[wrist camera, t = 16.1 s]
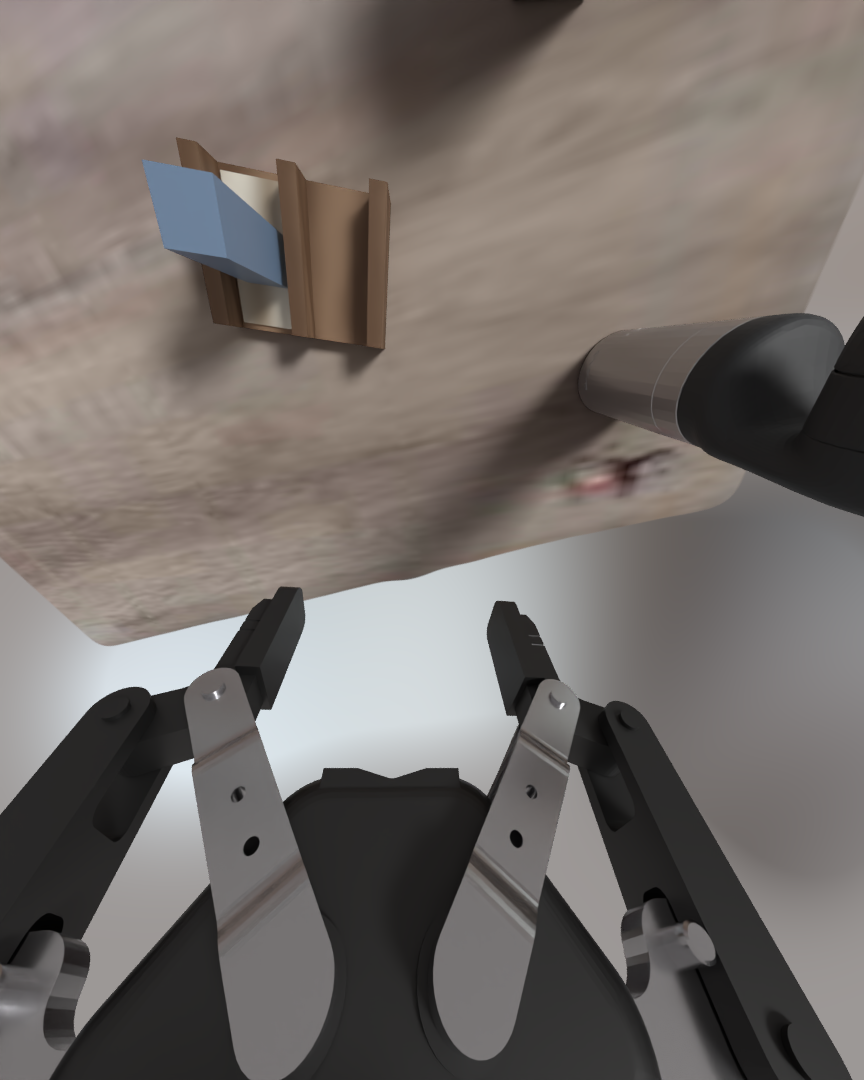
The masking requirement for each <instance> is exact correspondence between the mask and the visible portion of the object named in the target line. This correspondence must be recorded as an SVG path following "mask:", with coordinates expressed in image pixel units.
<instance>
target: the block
mask: <svg viewBox="0 0 864 1080" xmlns="http://www.w3.org/2000/svg"><path fill="white" fill-rule="evenodd" d="M142 162H143V166H144V170H145V174H146V178H147V182H148V186H149V190H150V193H151V197H152V201H153V205H154V209H155V213H156V217H157V221H158V225H159V229H160V233H161V237H162V241H163V245H164V248H165V249H168V250H170V251H173V252H175V253H177V254H180V255H182V256H185V257H187V258H190V259H192V260H194V261H197V262H199V263H202V264H204V265H207V266H209V267H211V268H214V269H216V270H219V271H221V272H224V273H226V274H228V275H231V276H233V277H236V278H238V279H241V280H243V281H245V282H249V283H255V284H262V285H268V286H275V287H281V288H288V284H287V273H286V262H285V252H284V241H283V235H282V234H281V233H280V232H279V231H278V230H276V229H275V228H274V227H273V226H272V225H271V224H270V223H269V222H267V221H266V220H265V219H264V218H263V217H262V216H261V215H260V214H258V213H257V212H256V211H255V210H254V209H253V208H252V207H250V206H249V205H248V204H247V203H246V202H245V201H244V200H243V199H241V198H240V197H239V196H238V195H237V194H236V193H235V192H233V191H232V190H231V189H230V188H229V187H228V186H227V185H226V184H224V183H223V182H222V181H221V180H220V179H219V178H218V177H216V176H215V175H214V174H213V173H211V172H206V171H201V170H195V169H190V168H185V167H179V166H174V165H169V164H163V163H158V162H153V161H147V160H142Z"/></svg>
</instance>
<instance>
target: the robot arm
mask: <svg viewBox="0 0 864 1080" xmlns="http://www.w3.org/2000/svg"><path fill="white" fill-rule="evenodd" d="M578 389H579V395H580V397H581V400H582V402H583V403H584V404H585V406H586V407H588V408H589V409H590V410H592V411H594V412H597V413H600V414H603V415H606V416H608V417H611V418H614V419H617V420H620V421H623V422H626V423H629V424H632V425H635V426H638V427H641V428H644V429H647V430H649V431H652V432H655V433H658V434H661V435H664V436H667V437H671V438H674V439H677V440H680V441H683V442H686V443H689V444H692V445H695V446H697V447H700V448H702V449H703V450H704V451H705V452H706V453H707V454H709V455H711V456H713V457H715V458H717V459H719V460H722V461H725V462H727V463H730V464H732V465H735V466H737V467H740V468H742V469H744V470H747V471H749V472H752V473H754V474H756V475H758V476H761V477H763V478H765V479H767V480H770V481H772V482H774V483H777V484H779V485H781V486H783V487H785V488H788V489H790V490H792V491H794V492H797V493H799V494H802V495H804V496H807V497H809V498H812V499H814V500H817V501H819V502H821V503H824V504H827V505H829V506H832V507H835V508H838V509H841V510H844V511H847V512H851V513H854V514H857V515H860V516H863V517H864V317H863V318H862V320H861V321H860V323H859V324H858V326H857V327H856V329H855V330H854V332H853V333H852V335H851V337H850V338H849V340H848V342H847V343H846V345H844V340H843V337H842V335H841V333H840V331H839V330H838V328H837V327H836V326H835V325H834V324H833V323H832V322H830V321H829V320H827V319H826V318H823V317H820V316H817V315H812V314H805V313H793V314H781V315H772V316H761V317H751V318H741V319H731V320H723V321H713V322H703V323H693V324H683V325H673V326H663V327H653V328H641V329H632V330H623V331H618V332H615V333H612V334H610V335H609V336H607V337H605V338H604V339H602V340H601V341H600V342H599V343H598V344H596V346H595V347H594V348H593V349H592V350H591V351H590V353H589V354H588V356H587V357H586V359H585V361H584V363H583V365H582V368H581V371H580V375H579V381H578ZM304 624H305V610H304V602H303V594H302V589H301V588H297V587H280V588H279V589H278V590H277V592H276V594H275V596H274V597H273V599H263V600H262V601H261V602H260V603H258V604H257V605H256V606H255V607H253V608H252V610H251V611H250V613H249V615H248V616H247V618H246V620H245V622H243V624H242V626H241V627H240V630H239V631H238V632H237V634H236V635H235V637H234V638H233V640H232V642H231V643H230V645H229V647H228V648H227V649H226V651H225V653H224V654H223V656H222V657H221V659H220V661H219V662H218V664H217V665H216V667H215V668H214V670H211V671H208V672H206V673H204V674H202V675H201V676H199V677H198V678H197V679H195V680H194V681H193V682H192V683H191V685H190V686H188V687H185V688H182V689H178V690H174V691H169V692H165V693H161V694H157V695H152V696H151V695H150V693H149V692H148V691H147V690H146V689H144V688H140V687H129V688H124V689H121V690H118V691H116V692H113V693H111V694H109V695H107V696H106V697H104V698H102V699H101V700H99V701H98V702H97V703H95V704H94V705H93V706H92V707H91V708H90V709H89V710H88V711H87V712H86V713H85V715H84V716H83V717H82V718H81V719H80V721H79V722H78V723H77V724H76V725H75V726H74V728H73V729H72V730H71V731H70V733H69V734H68V735H67V736H66V737H65V739H64V740H63V741H62V742H61V743H60V744H59V745H58V747H57V748H56V749H55V750H54V752H53V753H52V754H51V755H50V756H49V757H48V759H47V760H46V761H45V762H44V763H43V765H42V766H41V767H40V768H39V769H38V771H37V772H36V773H35V774H34V775H33V776H32V778H31V779H30V780H29V781H28V783H27V784H26V785H25V786H24V787H23V788H22V790H21V791H20V792H19V793H18V794H17V796H16V797H15V798H14V799H13V801H12V802H11V803H10V804H9V805H8V806H7V808H6V809H5V810H4V811H3V812H2V813H1V815H0V1080H852V1079H851V1076H850V1074H849V1072H848V1070H847V1068H846V1066H845V1064H844V1063H843V1061H842V1058H841V1057H840V1055H839V1053H838V1051H837V1050H836V1048H835V1046H834V1044H833V1043H832V1041H831V1039H830V1038H829V1036H828V1034H827V1032H826V1031H825V1029H824V1027H823V1025H822V1024H821V1022H820V1020H819V1018H818V1017H817V1015H816V1013H815V1012H814V1010H813V1008H812V1006H811V1005H810V1003H809V1001H808V999H807V998H806V996H805V994H804V992H803V991H802V989H801V987H800V986H799V984H798V982H797V980H796V979H795V977H794V975H793V973H792V972H791V970H790V968H789V966H788V965H787V963H786V961H785V960H784V958H783V956H782V954H781V953H780V951H779V949H778V947H777V946H776V944H775V942H774V940H773V939H772V937H771V935H770V934H769V932H768V930H767V928H766V926H765V925H764V923H763V921H762V920H761V918H760V917H759V915H758V913H757V911H756V909H755V907H754V906H753V904H752V902H751V900H750V899H749V897H748V895H747V893H746V892H745V890H744V888H743V887H742V885H741V883H740V881H739V880H738V878H737V876H736V875H735V873H734V871H733V869H732V867H731V866H730V864H729V862H728V861H727V859H726V857H725V855H724V854H723V852H722V850H721V848H720V847H719V845H718V843H717V841H716V840H715V838H714V836H713V835H712V833H711V831H710V829H709V828H708V826H707V824H706V823H705V821H704V819H703V817H702V816H701V814H700V812H699V810H698V808H697V807H696V805H695V804H694V802H693V800H692V798H691V797H690V795H689V793H688V791H687V789H686V788H685V786H684V784H683V782H682V781H681V779H680V777H679V776H678V774H677V772H676V770H675V769H674V767H673V765H672V763H671V762H670V760H669V758H668V756H667V755H666V753H665V751H664V749H663V748H662V746H661V745H660V743H659V741H658V739H657V737H656V736H655V734H654V732H653V731H652V729H651V727H650V725H649V724H648V722H647V720H646V719H645V718H644V717H643V715H642V714H641V713H640V712H638V711H637V710H636V709H635V708H633V707H632V706H630V705H628V704H626V703H623V702H620V701H612V702H610V703H608V704H607V706H606V707H605V708H604V707H601V706H598V705H595V704H592V703H589V702H587V701H583V700H581V699H579V698H577V696H576V694H575V693H574V691H573V690H572V689H571V688H570V687H568V686H567V685H566V684H564V683H563V682H561V681H560V680H559V678H558V676H557V673H556V671H555V669H554V667H553V664H552V662H551V660H550V657H549V655H548V653H547V651H546V648H545V646H543V642H542V639H541V638H540V635H539V633H538V630H537V628H536V626H535V624H534V623H533V622H532V621H531V620H530V619H529V617H528V616H526V615H520V613H519V611H518V608H517V605H516V604H515V602H508V601H496V602H495V605H494V607H493V611H492V614H491V617H490V620H489V623H488V627H487V640H488V644H489V648H490V652H491V656H492V659H493V663H494V667H495V671H496V675H497V679H498V683H499V687H500V691H501V695H502V699H503V702H504V707H505V710H506V714H507V716H509V715H510V716H517V719H518V723H519V725H518V726H517V729H516V731H515V733H514V736H513V738H512V740H511V743H510V745H509V748H508V750H507V752H506V755H505V757H504V759H503V762H502V764H501V766H500V769H499V771H498V773H497V775H496V778H495V780H494V782H493V784H492V786H491V788H490V790H489V793H488V795H487V796H486V795H485V794H484V793H483V792H482V791H481V790H479V789H478V788H477V787H475V786H474V785H472V784H470V783H468V782H466V781H464V780H461V779H459V771H458V768H426V769H423V770H419V771H416V772H413V773H410V774H407V775H403V776H400V777H397V778H387V777H384V776H380V775H377V774H374V773H371V772H368V771H365V770H362V769H359V768H324V769H323V774H322V778H321V779H320V780H317V781H314V782H312V783H310V784H307V785H305V786H304V787H302V788H300V789H299V790H297V791H296V792H295V793H293V794H292V795H290V796H289V797H288V798H287V799H286V800H285V801H284V802H282V799H281V796H280V793H279V790H278V787H277V784H276V781H275V778H274V776H273V773H272V769H271V767H270V764H269V761H268V758H267V755H266V752H265V749H264V746H263V743H262V740H261V737H260V734H259V732H258V728H257V726H256V723H255V721H256V718H257V716H258V714H259V711H260V709H262V710H263V709H265V710H271V709H272V706H273V704H274V701H275V699H276V696H277V694H278V691H279V689H280V686H281V684H282V681H283V679H284V676H285V674H286V671H287V669H288V666H289V663H290V661H291V658H292V656H293V653H294V651H295V649H296V646H297V644H298V641H299V639H300V636H301V634H302V631H303V627H304ZM193 758H194V764H193V765H192V776H193V782H194V788H195V795H196V801H197V807H198V813H199V818H200V825H201V831H202V836H203V842H204V848H205V854H206V860H207V866H208V872H209V878H210V884H209V885H208V886H207V887H206V888H205V890H204V891H203V892H202V893H201V894H200V895H199V896H198V898H197V899H196V900H195V901H194V902H193V903H192V904H191V905H190V906H189V908H188V909H187V910H186V911H185V912H184V913H183V914H182V915H181V917H180V918H179V919H178V920H177V921H176V922H175V923H174V925H173V926H172V927H171V928H170V929H169V930H168V931H167V932H166V933H165V935H164V936H163V937H162V938H161V939H160V940H159V941H158V943H157V944H156V945H155V946H154V947H153V948H152V949H151V950H150V952H149V953H148V954H147V955H146V956H145V957H144V959H142V961H141V962H140V963H139V964H138V965H137V966H136V967H135V969H134V970H133V971H132V972H131V973H130V974H129V975H128V976H127V977H126V979H125V980H124V981H123V982H122V983H121V985H119V986H118V988H117V989H116V990H115V991H114V992H113V993H112V994H111V996H110V997H109V998H108V999H107V1000H106V1001H105V1002H104V1003H103V1004H102V1006H101V1007H100V1008H99V1009H98V1010H97V1011H96V1013H95V1014H94V1015H93V1016H92V1017H91V1019H90V1020H89V1021H88V1023H87V1024H86V1025H85V1026H84V1028H83V1029H82V1030H81V1032H80V1033H79V1034H78V1036H77V1037H75V1032H74V1016H75V1009H76V1006H77V1002H78V999H79V996H80V994H81V991H82V989H83V986H84V983H85V981H86V978H87V975H88V971H89V966H90V952H89V948H88V946H87V945H86V943H84V942H83V941H82V940H81V939H82V937H83V935H84V933H85V931H86V929H87V928H88V926H89V924H90V921H91V920H92V918H93V916H94V914H95V912H96V910H97V908H98V907H99V905H100V903H101V901H102V899H103V897H104V895H105V893H106V891H107V889H108V887H109V885H110V883H111V882H112V880H113V878H114V876H115V874H116V872H117V870H118V868H119V867H120V865H121V863H122V861H123V859H124V857H125V855H126V853H127V851H128V849H129V847H130V846H131V843H132V842H133V840H134V838H135V836H136V834H137V832H138V830H139V828H140V827H141V825H142V823H143V821H144V819H145V817H146V815H147V813H148V811H149V810H150V808H151V806H152V804H153V802H154V800H155V798H156V796H157V794H158V792H159V791H160V789H161V787H162V785H163V783H164V781H165V779H166V777H167V775H168V773H169V771H170V770H171V767H172V766H173V765H174V764H177V763H180V762H183V761H186V760H189V759H193ZM567 762H570V763H572V764H575V765H577V766H578V768H579V771H580V774H581V777H582V780H583V783H584V785H585V788H586V791H587V794H588V797H589V800H590V803H591V806H592V809H593V812H594V814H595V818H596V821H597V823H598V826H599V829H600V832H601V835H602V838H603V841H604V844H605V847H606V849H607V852H608V855H609V858H610V861H611V864H612V867H613V870H614V873H615V875H616V878H617V881H618V884H619V887H620V890H621V893H622V896H623V899H624V902H625V905H626V908H627V912H626V913H625V914H624V916H623V919H622V923H621V937H622V944H623V948H624V954H625V958H626V964H627V980H626V985H625V983H624V981H623V980H622V978H621V977H620V976H619V974H618V972H617V971H616V969H615V968H614V967H613V965H612V964H611V963H610V961H609V960H608V958H607V957H606V956H605V954H604V953H603V952H602V950H601V949H600V947H599V946H598V945H597V943H596V942H595V941H594V939H593V938H592V937H591V935H590V934H589V933H588V931H587V930H586V929H585V927H584V926H583V924H582V923H581V922H580V920H579V919H578V918H577V916H576V915H575V913H574V912H573V911H572V910H571V908H570V907H569V905H568V904H567V903H566V901H565V900H564V898H563V897H562V896H561V895H560V893H559V892H558V891H557V889H556V888H555V887H554V885H553V884H552V882H551V881H550V879H549V878H548V877H547V875H546V870H547V866H548V862H549V857H550V853H551V849H552V845H553V841H554V836H555V832H556V828H557V824H558V819H559V815H560V811H561V807H562V803H563V798H564V794H565V790H566V785H567V781H568V777H569V772H570V766H569V765H568V764H567Z"/></svg>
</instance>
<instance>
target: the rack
mask: <svg viewBox="0 0 864 1080" xmlns="http://www.w3.org/2000/svg"><path fill="white" fill-rule="evenodd" d="M176 140H177V145H178V150H179V155H180V160H181V165H182V167H185V168H190V169H195V170H201V171H206V172H211V173H213V174H214V175H215V176H216V177H218V178H219V179H220V180H221V181H222V182H223V183H224V184H226V185H227V186H228V187H229V188H230V189H231V190H232V191H233V192H235V193H236V194H237V195H238V196H239V197H240V198H241V199H243V200H244V201H245V202H246V203H247V204H248V205H249V206H250V207H252V208H253V209H254V210H255V211H256V212H257V213H258V214H260V215H261V216H262V217H263V218H264V219H265V220H266V221H267V222H269V223H270V224H271V225H272V226H273V227H274V228H275V229H276V230H278V231H279V232H280V233H281V234H282V235H283V241H284V252H285V262H286V273H287V284H288V288H281V287H275V286H268V285H262V284H255V283H249V282H245V281H243V280H241V279H238V278H236V277H233V276H231V275H228V274H226V273H224V272H221V271H219V270H216V269H214V268H211V267H209V266H207V265H204V264H202V263H201V264H202V269H203V274H204V279H205V284H206V289H207V294H208V298H209V303H210V308H211V313H212V318H213V323H216V324H223V325H229V326H236V327H244V328H250V329H257V330H263V331H270V332H277V333H283V334H290V335H295V336H302V337H308V338H316V339H323V340H329V341H336V342H343V343H349V344H356V345H362V346H368V347H374V348H381V349H385V333H386V308H387V284H388V259H389V235H390V210H391V203H390V196H389V190H388V184H387V182H384V181H379V180H375V179H370V178H369V193H366V192H361V191H356V190H351V189H346V188H342V187H337V186H332V185H327V184H322V183H317V182H313V181H308V180H306V179H305V178H304V176H303V174H302V173H301V171H300V170H299V168H298V167H297V165H296V163H294V162H290V161H285V160H280V159H276V165H277V174H274V173H269V172H264V171H259V170H255V169H250V168H245V167H240V166H235V165H230V164H225V163H221V162H217V161H216V160H215V159H214V158H213V157H212V156H211V155H210V154H209V153H208V152H207V151H206V150H205V149H204V148H202V147H201V146H200V145H199V144H198V143H197V142H195V141H191V140H186V139H181V138H176Z"/></svg>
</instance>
